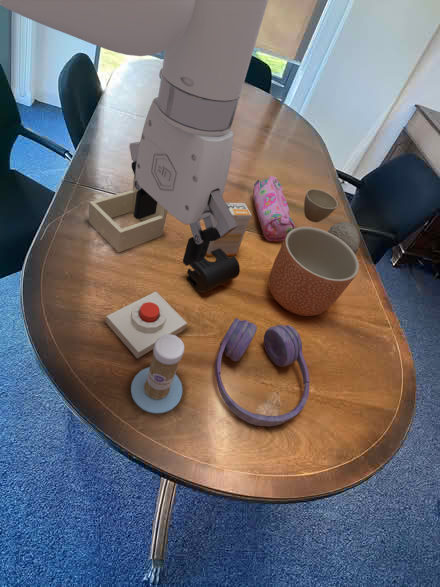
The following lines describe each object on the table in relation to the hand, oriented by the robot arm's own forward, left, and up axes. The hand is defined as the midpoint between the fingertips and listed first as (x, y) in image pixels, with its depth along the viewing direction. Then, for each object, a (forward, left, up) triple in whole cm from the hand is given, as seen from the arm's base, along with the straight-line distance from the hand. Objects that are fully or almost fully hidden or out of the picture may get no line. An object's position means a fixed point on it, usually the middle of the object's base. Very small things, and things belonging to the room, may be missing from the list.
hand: (168, 237), depth 49 cm
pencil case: (+59, +17, -31) cm, 69 cm away
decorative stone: (+66, -3, -31) cm, 73 cm away
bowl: (+75, +11, -31) cm, 82 cm away
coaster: (-1, -6, -30) cm, 31 cm away
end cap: (+26, +8, -31) cm, 41 cm away
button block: (+6, +6, -30) cm, 31 cm away
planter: (+41, -7, -31) cm, 52 cm away
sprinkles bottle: (-1, -6, -30) cm, 31 cm away
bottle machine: (+20, +32, -30) cm, 48 cm away
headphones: (+16, -16, -31) cm, 38 cm away
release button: (+6, +6, -27) cm, 28 cm away
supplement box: (+36, +15, -31) cm, 50 cm away
